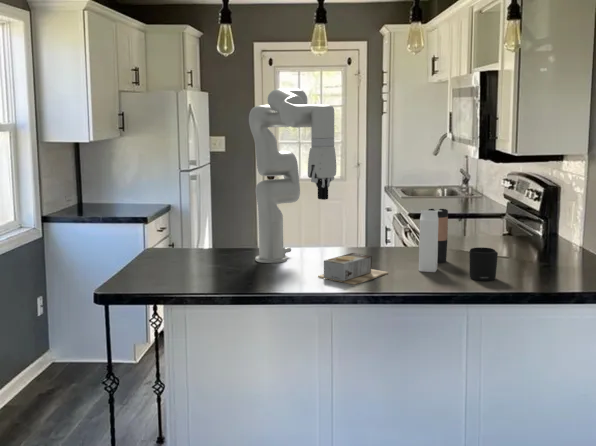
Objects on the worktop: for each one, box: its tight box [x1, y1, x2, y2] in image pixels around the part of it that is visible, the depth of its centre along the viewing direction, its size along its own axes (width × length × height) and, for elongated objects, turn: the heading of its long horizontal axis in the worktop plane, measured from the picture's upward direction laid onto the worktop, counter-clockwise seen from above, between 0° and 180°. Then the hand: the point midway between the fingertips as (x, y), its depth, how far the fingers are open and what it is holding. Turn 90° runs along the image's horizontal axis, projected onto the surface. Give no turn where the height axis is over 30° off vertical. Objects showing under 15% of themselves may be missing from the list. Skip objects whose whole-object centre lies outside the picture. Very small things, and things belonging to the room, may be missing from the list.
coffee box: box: [323, 252, 373, 281], centre depth 240 cm, size 9×6×16 cm
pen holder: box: [468, 247, 499, 282], centre depth 237 cm, size 9×9×10 cm
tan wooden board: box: [317, 268, 389, 286], centre depth 243 cm, size 20×16×1 cm
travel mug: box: [428, 208, 449, 264], centre depth 263 cm, size 8×8×20 cm
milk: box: [418, 209, 438, 273], centre depth 249 cm, size 6×6×22 cm
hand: (322, 199), depth 227 cm, fingers closed
